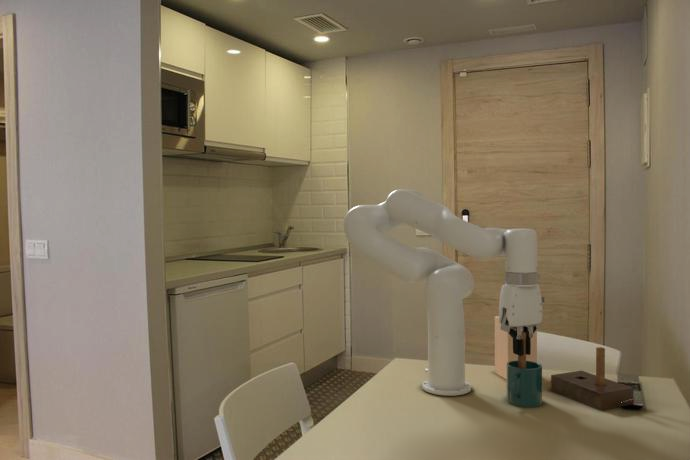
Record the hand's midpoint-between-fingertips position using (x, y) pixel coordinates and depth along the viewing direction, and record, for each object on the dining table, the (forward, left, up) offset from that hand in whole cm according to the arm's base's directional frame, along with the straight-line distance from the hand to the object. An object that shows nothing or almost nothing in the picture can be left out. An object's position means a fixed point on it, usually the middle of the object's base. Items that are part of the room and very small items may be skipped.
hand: (521, 353), depth 141 cm
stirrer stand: (+5, +17, -11) cm, 21 cm away
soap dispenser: (-17, +14, -12) cm, 25 cm away
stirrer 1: (0, 0, -8) cm, 8 cm away
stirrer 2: (+8, +17, -11) cm, 22 cm away
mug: (+2, -2, -11) cm, 12 cm away
